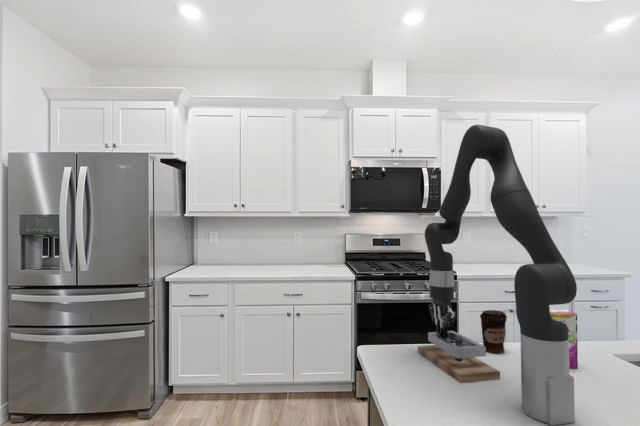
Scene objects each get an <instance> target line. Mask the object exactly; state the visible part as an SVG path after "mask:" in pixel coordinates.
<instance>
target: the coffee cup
mask: <svg viewBox="0 0 640 426" xmlns="http://www.w3.org/2000/svg"><path fill="white" fill-rule="evenodd" d="M479 318H480V324H481V325H480V326H481V335H482V345H483V346H485V347H486V352H489V353H493V354H503V353H505V345H504V344H505V340H506V331H507V330H506V322H507V318H508V316H507V315H506V313H505V312H504V311H501V310H496V309H494V310H493V309H491V310H490V309H487V310H483V311H482V313H480V315H479Z"/></svg>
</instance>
